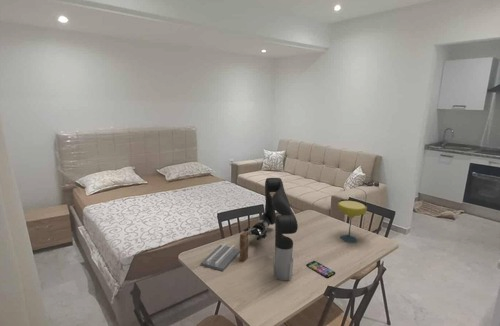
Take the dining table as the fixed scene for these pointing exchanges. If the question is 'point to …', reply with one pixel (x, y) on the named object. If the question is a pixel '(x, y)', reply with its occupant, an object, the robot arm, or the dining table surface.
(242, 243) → the brown wooden block
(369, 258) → the dining table surface
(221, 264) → the track plinth
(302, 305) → the dining table surface
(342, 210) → the cocktail glass
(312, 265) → the smartphone
